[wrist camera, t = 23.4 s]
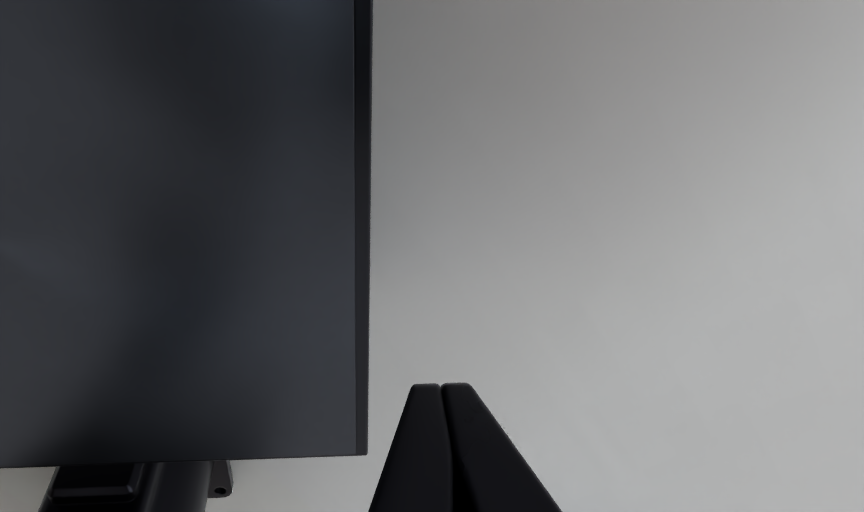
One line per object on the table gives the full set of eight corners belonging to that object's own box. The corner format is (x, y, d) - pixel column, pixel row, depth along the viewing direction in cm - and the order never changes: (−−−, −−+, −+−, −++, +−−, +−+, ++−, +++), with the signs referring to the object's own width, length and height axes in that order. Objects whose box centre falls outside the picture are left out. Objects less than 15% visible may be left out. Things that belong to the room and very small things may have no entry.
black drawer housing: (364, 276, 23) (367, 461, 17) (-64, 279, 22) (-224, 482, 16) (367, -217, 15) (375, -192, 9) (-334, -270, 13) (-905, -283, 7)
